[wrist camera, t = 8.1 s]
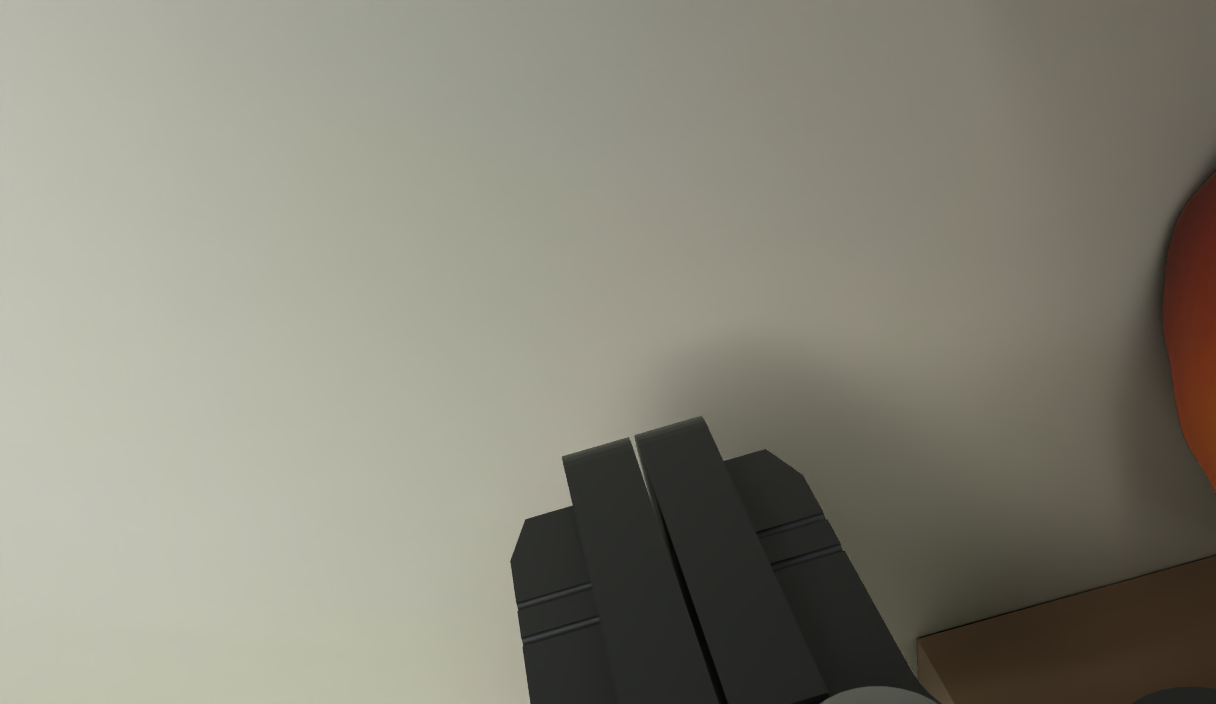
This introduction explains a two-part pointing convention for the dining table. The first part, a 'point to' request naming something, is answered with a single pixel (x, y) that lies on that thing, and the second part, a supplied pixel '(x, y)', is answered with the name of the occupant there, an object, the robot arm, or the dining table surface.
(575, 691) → the robot arm
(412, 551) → the dining table surface
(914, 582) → the dining table surface
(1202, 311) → the fruit
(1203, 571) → the brown wooden u-shaped frame
